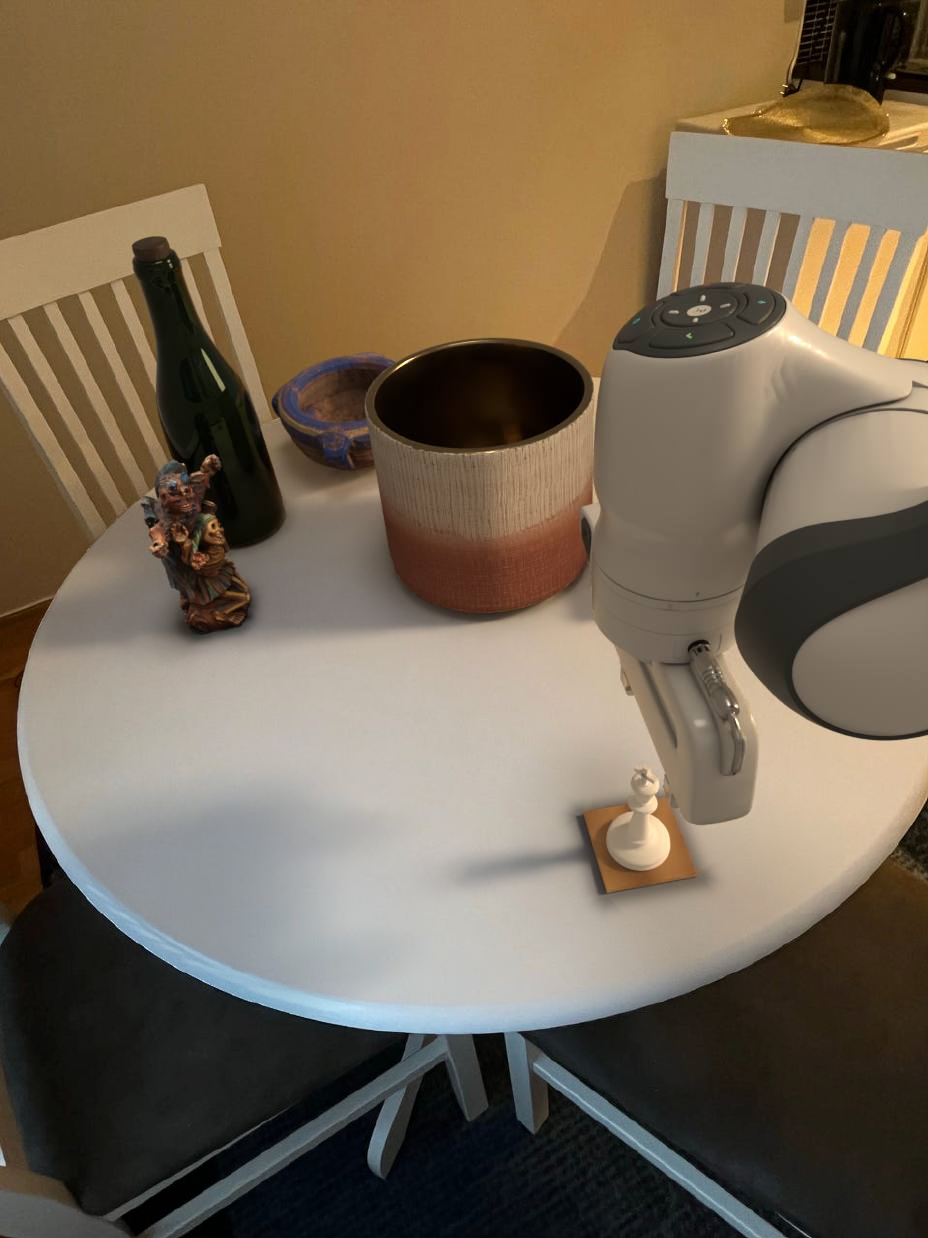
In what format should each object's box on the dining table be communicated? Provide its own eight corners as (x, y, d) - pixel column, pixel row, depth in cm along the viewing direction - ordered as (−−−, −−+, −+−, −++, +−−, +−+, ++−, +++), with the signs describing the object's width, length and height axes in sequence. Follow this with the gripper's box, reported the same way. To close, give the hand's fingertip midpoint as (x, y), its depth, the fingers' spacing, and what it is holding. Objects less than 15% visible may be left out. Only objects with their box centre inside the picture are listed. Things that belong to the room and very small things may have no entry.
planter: (629, 579, 87) (642, 410, 73) (434, 650, 82) (408, 482, 68) (536, 474, 102) (532, 316, 88) (366, 528, 97) (333, 370, 83)
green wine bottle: (234, 489, 105) (142, 216, 82) (303, 505, 102) (227, 223, 79) (182, 539, 99) (66, 257, 76) (254, 558, 95) (155, 267, 72)
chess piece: (631, 804, 68) (639, 727, 61) (682, 840, 65) (697, 765, 58) (593, 843, 65) (596, 769, 58) (644, 883, 63) (654, 810, 56)
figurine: (284, 628, 86) (237, 485, 74) (198, 661, 84) (135, 519, 71) (255, 570, 93) (208, 431, 81) (175, 599, 91) (114, 460, 78)
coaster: (666, 799, 68) (667, 796, 68) (696, 876, 63) (697, 874, 63) (583, 814, 68) (583, 811, 67) (606, 893, 63) (606, 891, 62)
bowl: (324, 512, 100) (306, 440, 93) (273, 445, 112) (254, 377, 105) (454, 462, 106) (446, 391, 99) (392, 403, 117) (382, 336, 110)
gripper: (810, 718, 39) (765, 868, 48) (667, 476, 54) (654, 628, 63) (679, 743, 39) (659, 889, 48) (572, 493, 53) (573, 642, 63)
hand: (656, 739), depth 56 cm, fingers open, 8 cm apart
